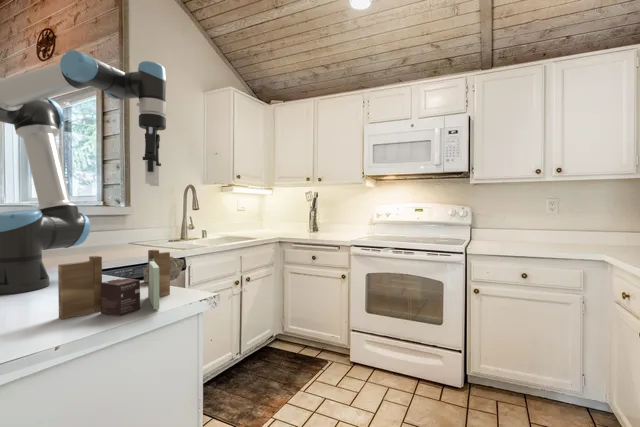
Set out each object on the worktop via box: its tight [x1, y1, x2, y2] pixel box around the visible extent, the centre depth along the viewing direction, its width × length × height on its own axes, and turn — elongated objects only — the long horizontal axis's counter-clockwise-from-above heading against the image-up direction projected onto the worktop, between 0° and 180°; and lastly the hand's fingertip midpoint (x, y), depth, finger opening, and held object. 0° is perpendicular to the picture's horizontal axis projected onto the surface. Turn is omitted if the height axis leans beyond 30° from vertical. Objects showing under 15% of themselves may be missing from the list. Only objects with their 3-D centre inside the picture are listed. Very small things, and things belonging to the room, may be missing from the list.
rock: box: [143, 255, 185, 283], centre depth 115 cm, size 12×7×10 cm, turn 130°
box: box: [100, 277, 141, 317], centre depth 82 cm, size 6×6×7 cm
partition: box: [57, 249, 171, 320], centre depth 87 cm, size 3×26×13 cm, turn 147°
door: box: [148, 259, 160, 310], centre depth 88 cm, size 12×1×11 cm, turn 32°
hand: (152, 184), depth 106 cm, fingers open, 13 cm apart
